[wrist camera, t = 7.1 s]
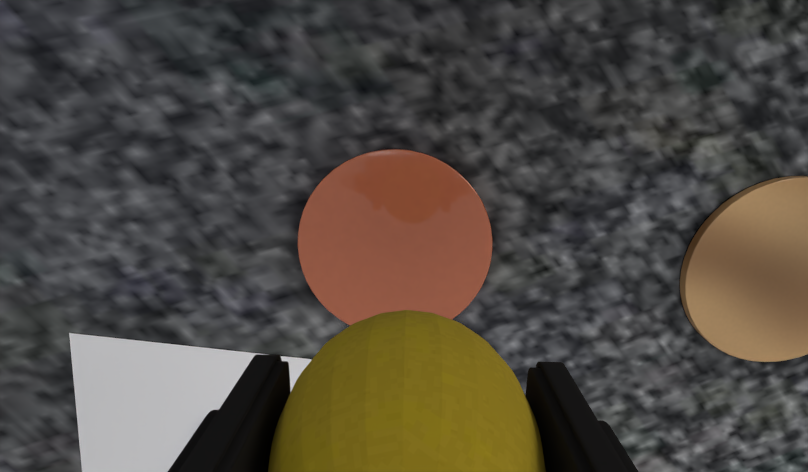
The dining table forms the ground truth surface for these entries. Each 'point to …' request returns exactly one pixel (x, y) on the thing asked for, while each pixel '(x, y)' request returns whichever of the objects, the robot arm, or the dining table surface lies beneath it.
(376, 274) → the terracotta coaster
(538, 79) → the dining table surface
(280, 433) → the lemon
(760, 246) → the cork coaster
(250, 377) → the robot arm
